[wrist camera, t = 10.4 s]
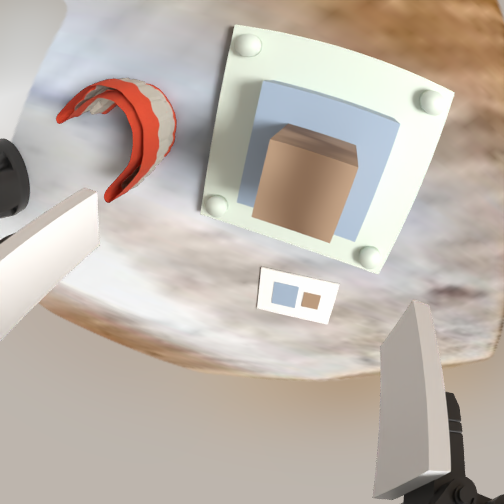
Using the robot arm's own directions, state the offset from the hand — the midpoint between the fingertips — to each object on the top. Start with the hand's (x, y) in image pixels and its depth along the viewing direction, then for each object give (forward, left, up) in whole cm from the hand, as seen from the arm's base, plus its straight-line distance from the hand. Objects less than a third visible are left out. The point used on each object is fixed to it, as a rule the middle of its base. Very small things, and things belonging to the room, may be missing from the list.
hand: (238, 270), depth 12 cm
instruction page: (+4, -20, -23) cm, 31 cm away
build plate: (+1, -1, -23) cm, 23 cm away
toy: (-19, -2, -24) cm, 30 cm away
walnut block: (+1, -1, -18) cm, 18 cm away
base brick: (+1, -1, -22) cm, 22 cm away
